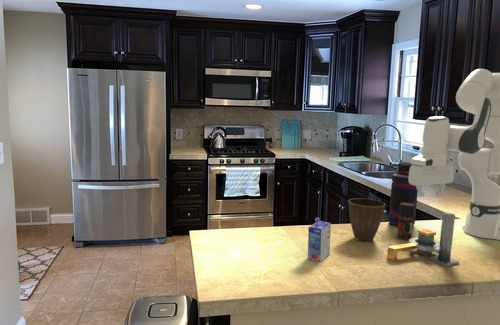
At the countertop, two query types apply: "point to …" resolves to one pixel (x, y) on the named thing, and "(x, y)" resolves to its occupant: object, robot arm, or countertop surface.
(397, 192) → the thermos bottle
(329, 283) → the countertop surface
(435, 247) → the post
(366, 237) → the plant pot
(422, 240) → the grey lidded jar
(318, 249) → the ink cartridge box
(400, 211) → the deodorant
